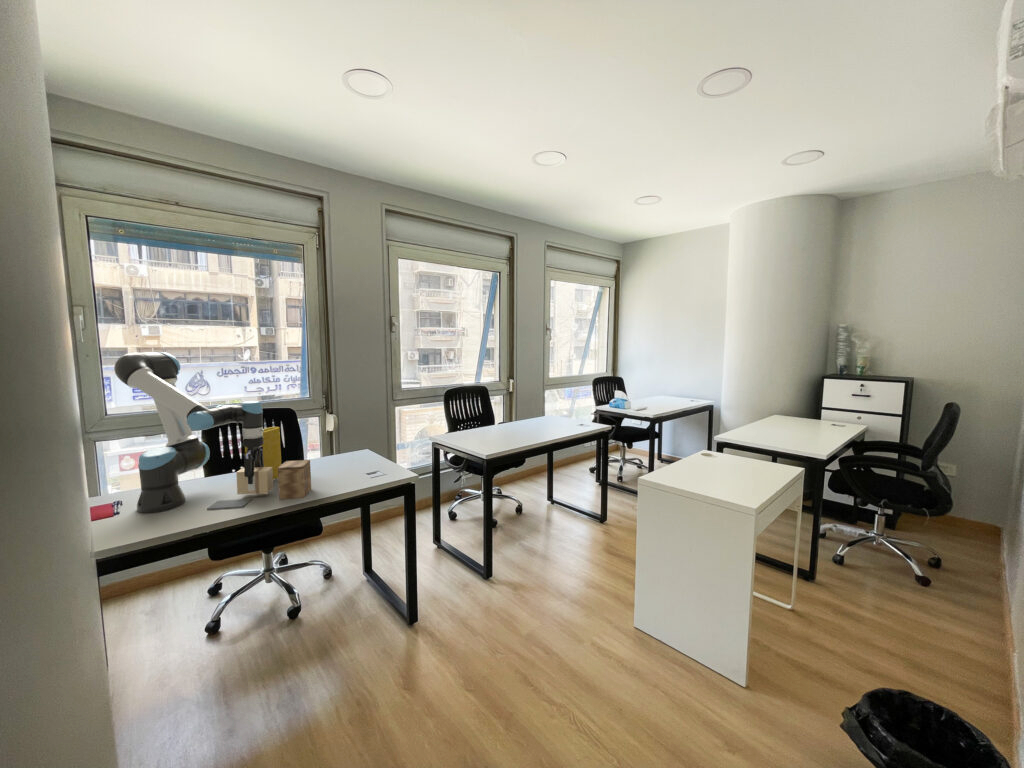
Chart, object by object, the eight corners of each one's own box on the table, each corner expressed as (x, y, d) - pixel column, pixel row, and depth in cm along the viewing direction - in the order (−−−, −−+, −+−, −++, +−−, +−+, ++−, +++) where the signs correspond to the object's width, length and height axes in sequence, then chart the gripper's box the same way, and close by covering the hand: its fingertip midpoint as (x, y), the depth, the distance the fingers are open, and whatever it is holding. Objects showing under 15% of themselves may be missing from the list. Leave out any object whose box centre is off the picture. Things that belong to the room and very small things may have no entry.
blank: (237, 494, 174) (236, 472, 173) (243, 489, 180) (243, 467, 179) (267, 493, 176) (266, 471, 175) (273, 488, 182) (272, 466, 181)
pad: (207, 509, 163) (207, 508, 163) (217, 501, 171) (217, 500, 171) (242, 507, 166) (242, 506, 166) (251, 500, 174) (251, 498, 173)
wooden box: (279, 499, 175) (277, 467, 173) (288, 490, 185) (286, 460, 184) (304, 497, 177) (302, 466, 175) (311, 488, 187) (310, 459, 185)
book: (258, 486, 189) (255, 434, 186) (246, 485, 190) (243, 434, 187) (285, 475, 205) (282, 427, 203) (274, 474, 207) (271, 426, 204)
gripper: (252, 442, 166) (254, 495, 169) (271, 431, 185) (272, 479, 188) (232, 442, 165) (235, 496, 168) (253, 431, 184) (255, 480, 186)
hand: (255, 487), depth 178 cm, fingers closed on blank, 6 cm apart
